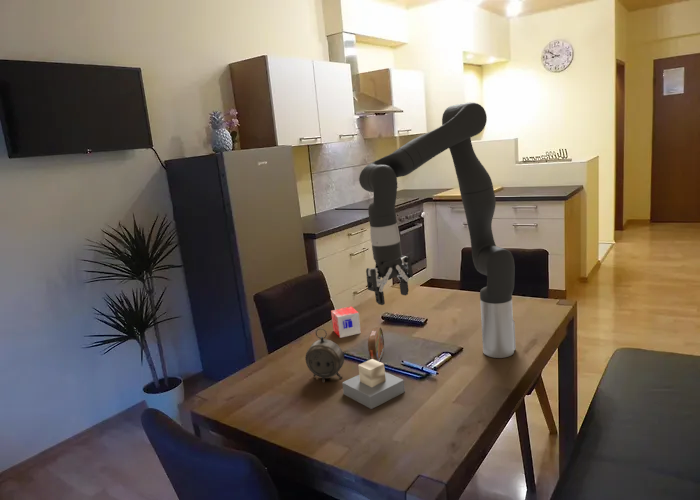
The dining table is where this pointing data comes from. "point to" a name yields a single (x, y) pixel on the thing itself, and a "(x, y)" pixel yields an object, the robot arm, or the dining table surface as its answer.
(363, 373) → the birch cube
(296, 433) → the dining table surface
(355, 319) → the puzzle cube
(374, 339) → the tin
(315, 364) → the alarm clock
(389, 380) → the base block
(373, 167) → the robot arm
